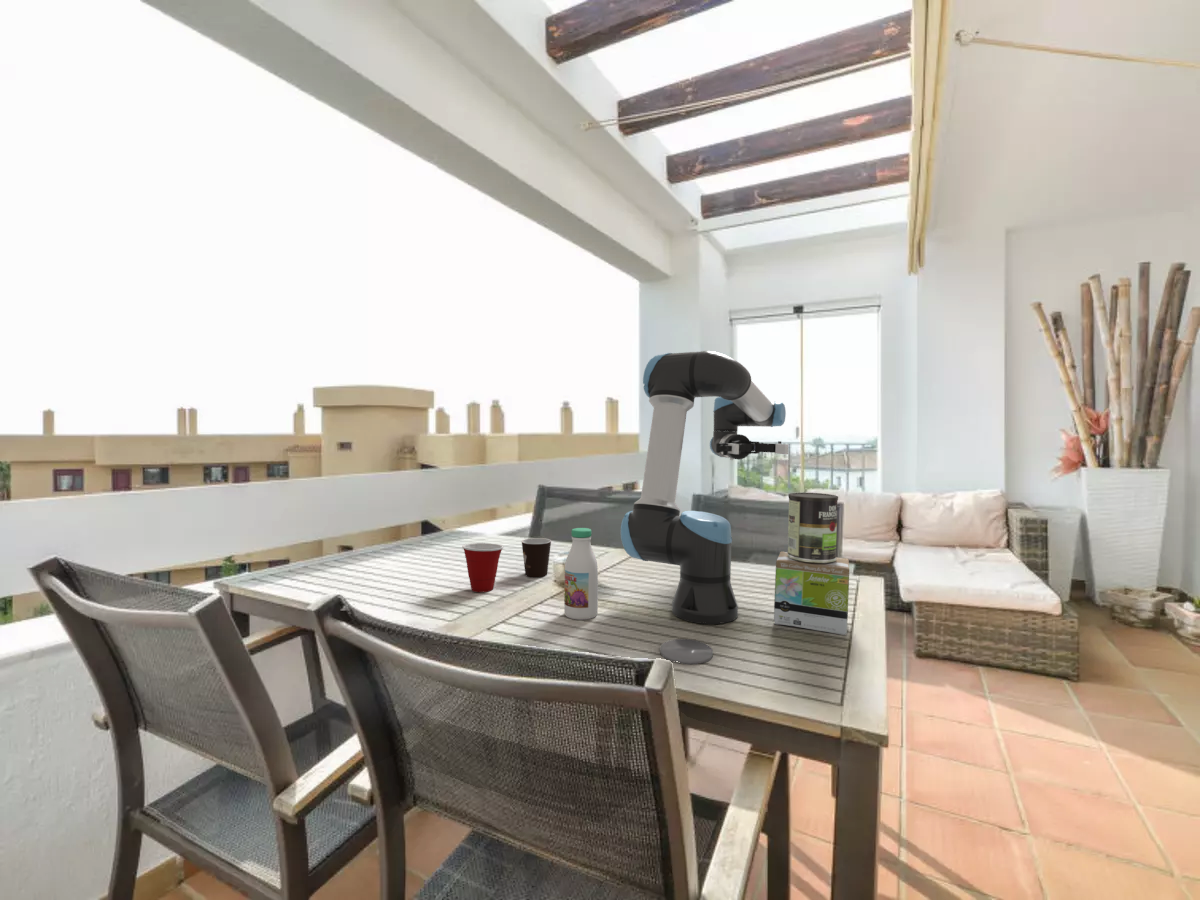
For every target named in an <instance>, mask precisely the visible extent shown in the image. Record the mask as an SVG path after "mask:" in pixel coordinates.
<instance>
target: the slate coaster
mask: <svg viewBox="0 0 1200 900" xmlns="http://www.w3.org/2000/svg"><path fill="white" fill-rule="evenodd" d="M659 652H660V656H662V658H664V659H666V660H667V659H669V660H668V661H670V660H671V661H670V662H672V663H673V661H675V662H674V663H676V661H678V662H680V663H679V664H681V663H683V665H699V664H698V663H700V664H703V663H706V661H707V662H709V661H711V660H712V658H713V654H714V653H713V648H712V647H711V646H710V645H708V644H707V643H705V642H702V641H700V640H695V639H690V638H676V639H675V638H674V639H670V640H666V641H664V642H663V643H661V645H660V647H659Z"/></svg>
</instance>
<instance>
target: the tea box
mask: <svg viewBox="0 0 1200 900" xmlns="http://www.w3.org/2000/svg"><path fill="white" fill-rule="evenodd" d="M774 575H775V579H774V580H775V582H774V604H773V606H774V607H773V614H774V615H773V622H774V625H782V626H789V627H795V628H802V629H808V630H813V631H818V632H823V633H824V632H826V633H830V634H835V635H842V636H846V635H847V634H848V633H847V630H848V615H849V593H850V591H849V590H850V561H849V558H847V557H846V558H844V557H838V556H836V561H835V562H831V563H810V562H803V561H798V560H794V559H791V558H789V557H788V551H780V552H779V555H778V557H777V559H776V561H775V574H774Z"/></svg>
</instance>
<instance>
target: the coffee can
mask: <svg viewBox="0 0 1200 900" xmlns="http://www.w3.org/2000/svg"><path fill="white" fill-rule="evenodd" d="M838 500H839V496H838V495H836V494H831V493H823V492H822V493H820V492H791V493H788V520H787V521H788V526H787V529H788V531H787V532H788V533H787V552H788V557H789V558H791V559H794V560H798V561H803V562H810V563H831V562H835V561H836V557H837V531H838V530H837V529H838V527H837V526H838Z"/></svg>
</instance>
